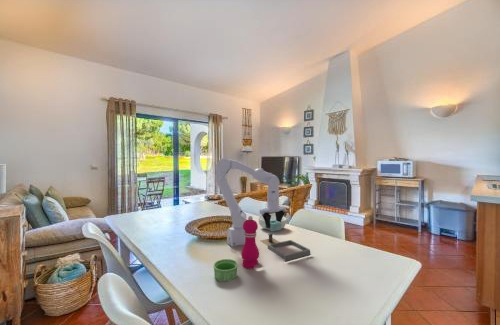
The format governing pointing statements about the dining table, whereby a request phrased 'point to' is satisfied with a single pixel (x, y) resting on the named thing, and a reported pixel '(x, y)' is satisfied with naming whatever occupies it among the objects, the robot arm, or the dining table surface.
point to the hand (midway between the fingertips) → (273, 226)
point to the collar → (274, 225)
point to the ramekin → (225, 269)
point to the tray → (292, 255)
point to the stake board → (269, 240)
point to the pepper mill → (250, 244)
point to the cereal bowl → (273, 217)
